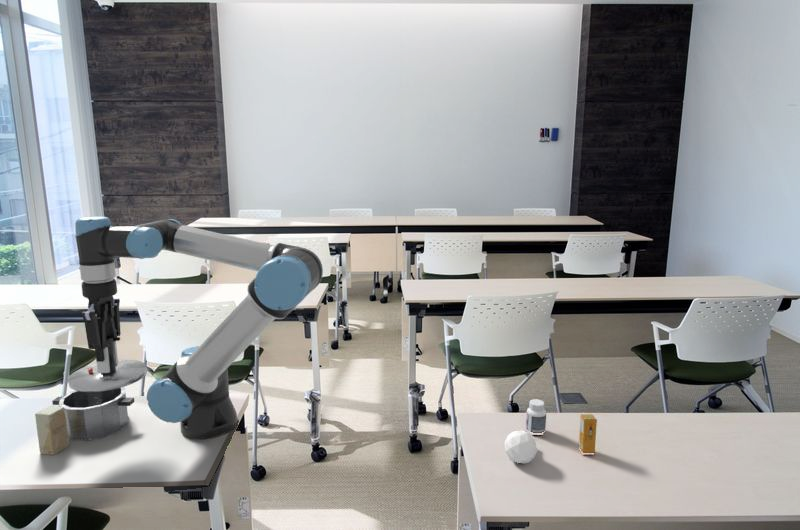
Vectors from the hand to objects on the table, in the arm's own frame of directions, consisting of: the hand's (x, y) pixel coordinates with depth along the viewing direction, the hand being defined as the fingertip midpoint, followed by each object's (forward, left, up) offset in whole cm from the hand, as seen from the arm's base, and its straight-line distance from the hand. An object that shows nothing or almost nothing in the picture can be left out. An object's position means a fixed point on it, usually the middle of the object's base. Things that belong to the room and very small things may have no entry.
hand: (108, 368), depth 134 cm
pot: (+12, -10, -22) cm, 27 cm away
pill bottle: (-112, -11, -22) cm, 115 cm away
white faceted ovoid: (-106, +2, -22) cm, 108 cm away
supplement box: (-123, 0, -22) cm, 125 cm away
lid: (0, 0, -2) cm, 2 cm away
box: (+15, +2, -22) cm, 27 cm away
